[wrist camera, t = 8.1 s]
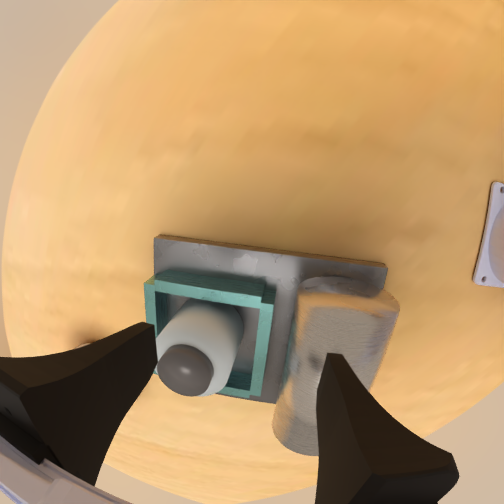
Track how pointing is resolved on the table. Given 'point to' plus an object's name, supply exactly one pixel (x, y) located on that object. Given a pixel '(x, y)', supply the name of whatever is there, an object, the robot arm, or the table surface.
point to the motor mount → (280, 320)
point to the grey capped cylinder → (199, 347)
